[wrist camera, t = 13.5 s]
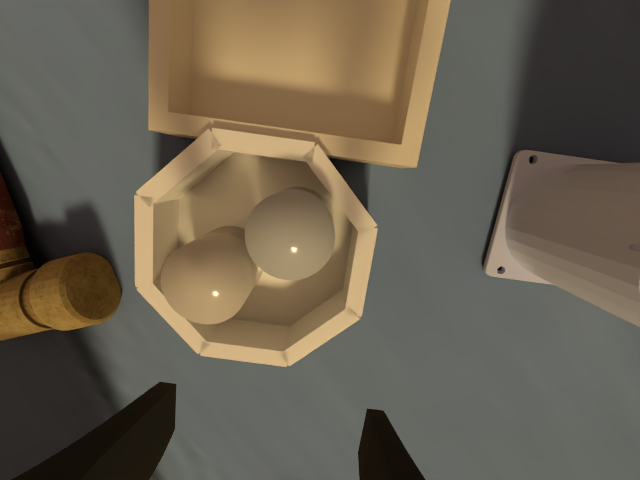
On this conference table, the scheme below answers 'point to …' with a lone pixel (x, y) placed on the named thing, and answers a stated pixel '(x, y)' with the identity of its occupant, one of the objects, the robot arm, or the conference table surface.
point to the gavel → (49, 284)
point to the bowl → (233, 210)
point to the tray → (298, 72)
